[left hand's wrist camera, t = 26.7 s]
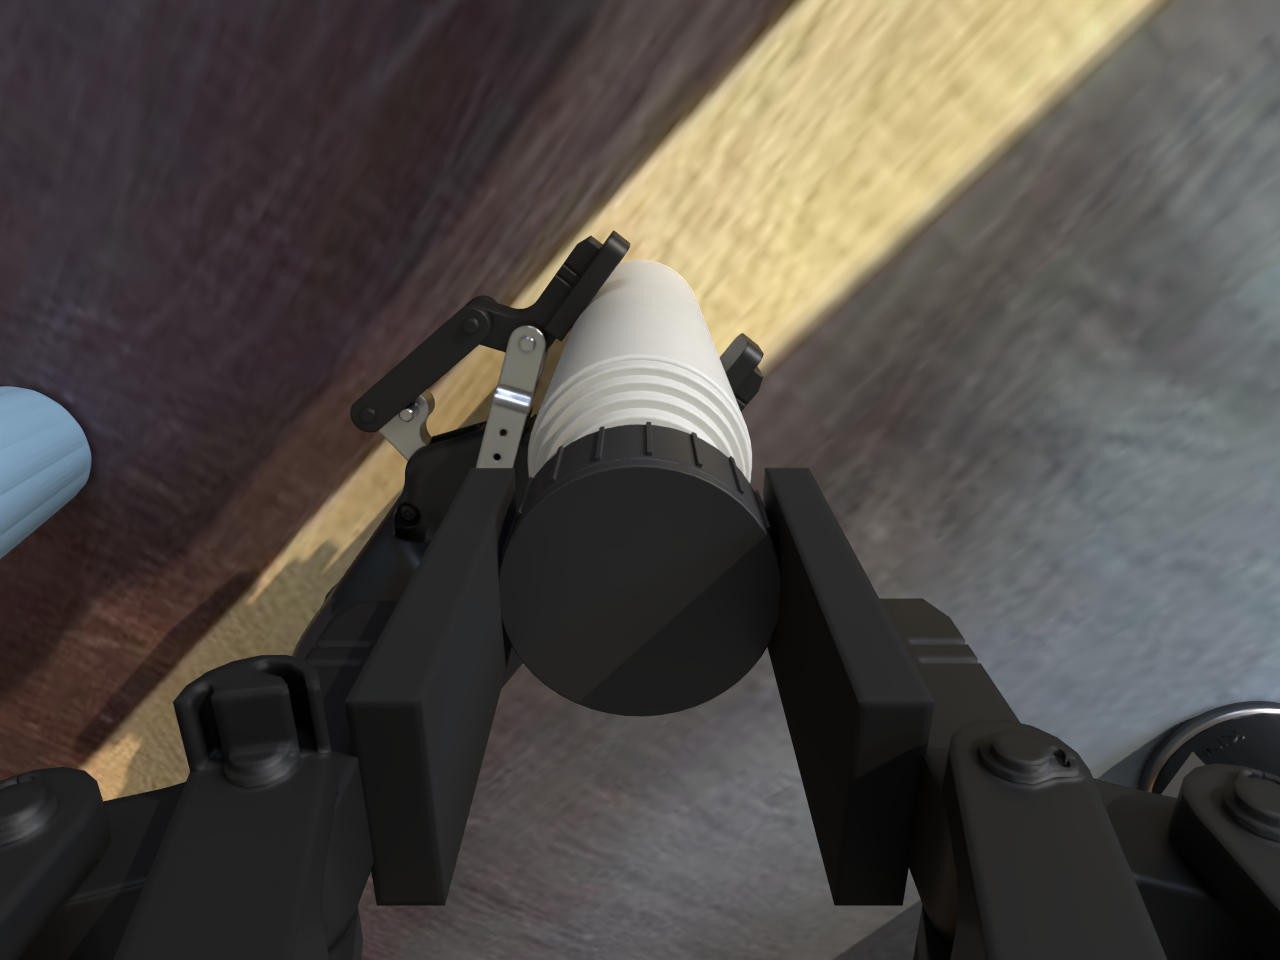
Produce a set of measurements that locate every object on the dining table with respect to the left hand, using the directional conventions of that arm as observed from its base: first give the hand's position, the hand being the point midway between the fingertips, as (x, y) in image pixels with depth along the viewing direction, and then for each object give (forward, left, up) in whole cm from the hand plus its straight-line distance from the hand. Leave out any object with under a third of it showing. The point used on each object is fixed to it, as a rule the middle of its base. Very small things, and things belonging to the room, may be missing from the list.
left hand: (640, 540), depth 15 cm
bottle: (0, 0, -21) cm, 21 cm away
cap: (0, 0, +2) cm, 2 cm away
